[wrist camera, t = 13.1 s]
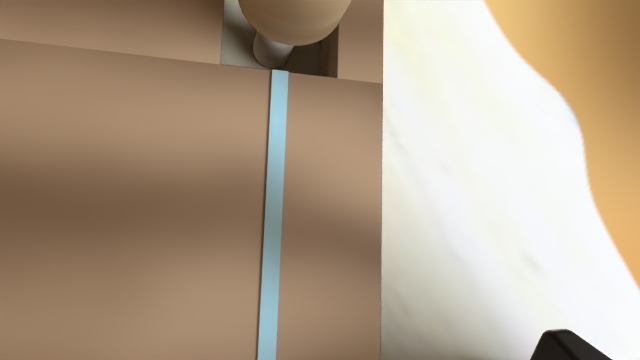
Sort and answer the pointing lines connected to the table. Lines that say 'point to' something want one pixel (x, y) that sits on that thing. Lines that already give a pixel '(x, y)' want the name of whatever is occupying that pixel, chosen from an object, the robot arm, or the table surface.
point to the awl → (289, 25)
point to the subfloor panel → (185, 188)
